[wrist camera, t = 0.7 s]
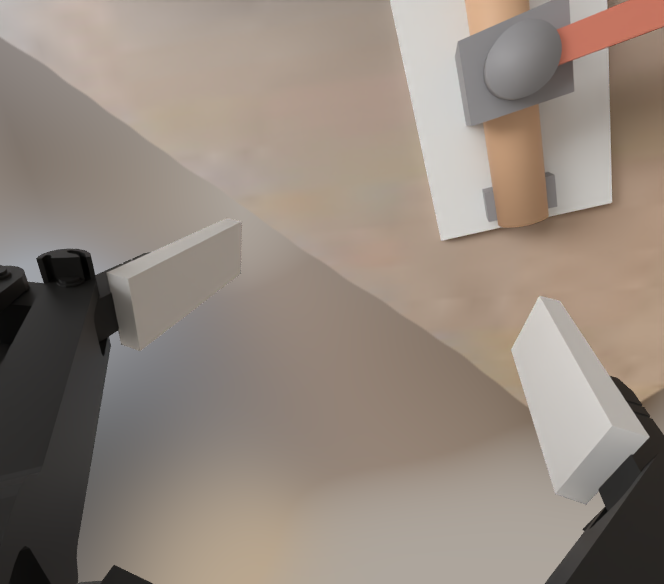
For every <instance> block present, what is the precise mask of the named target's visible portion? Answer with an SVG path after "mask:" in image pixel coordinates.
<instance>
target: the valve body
mask: <svg viewBox="0 0 664 584" xmlns="http://www.w3.org/2000/svg"><path fill="white" fill-rule="evenodd" d="M390 3H391V8H392V13H393V17H394V22H395V27H396V31H397V36H398V41H399V45H400V50H401V55H402V59H403V64H404V69H405V73H406V78H407V83H408V87H409V92H410V97H411V101H412V106H413V111H414V116H415V120H416V125H417V130H418V134H419V139H420V144H421V148H422V153H423V158H424V162H425V167H426V172H427V176H428V181H429V186H430V190H431V195H432V200H433V204H434V209H435V214H436V218H437V223H438V228H439V232H440V237H441V241H442V240H447V239H451V238H456V237H460V236H465V235H469V234H474V233H478V232H483V231H487V230H492V229H496V228H501V227H506V228H512V227H521V226H527V225H531V224H535V223H538V222H540V221H543V220H545V219H546V218H547V217H550V216H555V215H559V214H564V213H568V212H573V211H577V210H582V209H586V208H591V207H595V206H600V205H604V204H609V203H612V174H611V133H610V91H609V50H608V48H605V49H602V50H599V51H597V52H594V53H591V54H589V55H586V56H583V57H580V58H578V59H575V60H572V61H570V62H567V63H564V64H562V65H559V66H558V67H557V69H556V71H555V73H554V74H553V76H552V77H551V79H550V80H549V81H548V82H547V83H546V84H545V85H544V86H543V87H542V88H541V89H539V90H538V91H536V92H535V93H533V94H531V95H529V96H526V97H523V98H519V99H516V100H502V99H499V98H497V97H495V96H493V95H492V94H491V93H490V92H489V91H488V89H487V87H486V85H485V83H484V78H483V68H484V63H485V60H486V57H487V55H488V53H489V51H490V50H491V48H492V47H493V45H494V44H495V42H496V41H497V39H498V38H499V37H500V36H501V35H502V34H503V33H504V32H505V31H506V30H507V29H508V28H509V27H511V26H512V25H514V24H516V23H518V22H520V21H523V20H527V19H541V20H545V21H547V22H549V23H550V24H552V25H553V26H554V27H555V28H556V30H557V29H559V28H562V27H564V26H567V25H569V24H572V23H574V22H577V21H579V20H582V19H584V18H587V17H589V16H591V15H594V14H596V13H599V12H601V11H604V10H606V9H608V8H607V0H390Z"/></svg>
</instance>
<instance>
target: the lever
mask: <svg viewBox="0 0 664 584" xmlns="http://www.w3.org/2000/svg"><path fill="white" fill-rule="evenodd" d="M662 27H664V0H629V1H626V2H624V3H621V4H619V5H616V6H614V7H611V8H609V9H606V10H604V11H601V12H599V13H596V14H594V15H591V16H589V17H587V18H584V19H582V20H579V21H577V22H574V23H572V24H569V25H567V26H564V27H562V28H559V29H557V30H556V28H555V27H554V26H553V25H552V24H550V23H549V22H547V21H545V20H541V19H527V20H523V21H520V22H518V23H516V24H514V25H512V26H511V27H509V28H508V29H507V30H506V31H505V32H504V33H503V34H502V35H501V36H500V37H499V38H498V39H497V41H496V42H495V44H494V45H493V47H492V48H491V50H490V51H489V53H488V55H487V57H486V60H485V63H484V68H483V78H484V83H485V85H486V87H487V89H488V91H489V92H490V93H491V94H492V95H493V96H495V97H497V98H499V99H502V100H516V99H519V98H523V97H526V96H529V95H531V94H533V93H535V92H536V91H538V90H539V89H541V88H542V87H543V86H544V85H545V84H546V83H547V82H548V81H549V80H550V79H551V77H552V76H553V74H554V73H555V71H556V69H557V67H558V66H559V65H562V64H564V63H567V62H570V61H572V60H575V59H578V58H580V57H583V56H586V55H589V54H591V53H594V52H597V51H599V50H602V49H605V48H608V47H610V46H613V45H616V44H618V43H621V42H624V41H627V40H629V39H632V38H635V37H637V36H640V35H643V34H646V33H648V32H651V31H654V30H656V29H659V28H662Z"/></svg>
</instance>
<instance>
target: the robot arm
mask: <svg viewBox="0 0 664 584" xmlns="http://www.w3.org/2000/svg"><path fill="white" fill-rule="evenodd" d="M241 232H242V222H241V221H238V220H234V219H230V218H226V219H224V220H221V221H219V222H217V223H215V224H213V225H210V226H208V227H206V228H204V229H201V230H199V231H197V232H195V233H193V234H190V235H188V236H186V237H184V238H182V239H180V240H177V241H175V242H173V243H171V244H168V245H166V246H164V247H162V248H160V249H157V250H155V251H153V252H149V253H144V254H142V255H140V256H137V257H135V258H133V259H132V260H128V261H126V262H124V263H123V264H119V265H117V266H115V267H113V268H111V269H108V270H106V271H104V272H102V273H100V274H97V275H95V273H94V268H93V263H92V259H91V255H90V253H89V252H87V251H85V250H80V249H60V250H54V251H50V252H47V253H44V254H42V255H40V256H39V257H38V258H36V259H37V262H38V266H39V269H40V272H41V275H42V278H43V282H44V283H35V282H28V281H27V278H26V276H25V272H24V270H23V269H22V268H19V267H15V266H2V265H0V584H152V583H150V582H148V581H146V580H144V579H142V578H140V577H138V576H136V575H134V574H132V573H130V572H128V571H126V570H124V569H121V568H119V567H117V566H115V565H114V566H113V567H112V568H111V570H110V571H109V572H108V574H107V575H106V576H105V578H104V579H103V580H102V581H92V582H81V583H78V569H77V545H78V538H79V532H80V526H81V520H82V514H83V508H84V502H85V496H86V490H87V484H88V478H89V472H90V466H91V460H92V454H93V448H94V442H95V436H96V430H97V424H98V418H99V412H100V406H101V400H102V394H103V389H104V382H105V377H106V370H107V364H108V359H109V352H110V347H111V344H110V339H109V336H110V335H111V334H113V333H114V332H116V331H119V336H120V341H121V345H124V346H127V347H130V348H133V349H136V350H139V351H141V350H142V349H143V348H145V347H146V346H147V345H149V344H150V343H151V342H152V341H154V340H155V339H157V338H158V337H159V336H160V335H162V334H163V333H164V332H166V331H167V330H168V329H170V328H171V327H172V326H174V325H175V324H176V323H177V322H179V321H180V320H181V319H183V318H184V317H185V316H187V315H188V314H189V313H190V312H192V311H193V310H194V309H196V308H197V307H198V306H199V305H201V304H202V303H204V302H205V301H206V300H207V299H209V298H210V297H211V296H213V295H214V294H215V293H216V292H218V291H219V290H220V289H222V288H223V287H224V286H225V285H227V284H228V283H229V282H231V281H232V280H234V279H235V278H236V277H237V276H239V275H240V274H241V235H242V234H241ZM511 351H512V354H513V357H514V360H515V364H516V367H517V370H518V374H519V377H520V380H521V383H522V387H523V390H524V393H525V396H526V400H527V403H528V406H529V410H530V413H531V416H532V419H533V423H534V426H535V429H536V432H537V436H538V439H539V442H540V446H541V449H542V452H543V455H544V458H545V462H546V465H547V469H548V472H549V475H550V478H551V481H552V485H553V488H554V492H555V494H557V495H560V496H563V497H565V498H568V499H571V500H574V501H577V502H580V503H583V504H587V503H588V502H589V501H590V500H591V499H592V498H593V497H594V496H595V494H597V492H598V491H599V492H600V495H601V497H602V499H603V502H604V504H605V507H604V508H603V509H602V510H601V511H600V512H599V514H597V515H596V516H595V517H594V518H593V520H591V521H590V523H588V524H587V525H586V527H585V528H583V530H584V531H585V532H584V533H583V534H582V535H581V537H580V538H579V539H578V541H577V542H576V543H575V545H574V546H573V547H572V549H571V550H570V551H569V552H568V554H567V555H566V557H565V558H564V559H563V560H562V562H561V563H560V564H559V566H558V567H557V568H556V569H555V571H554V572H553V573H552V575H551V576H550V577H549V579H548V580H547V582H546V583H545V584H664V435H663V433H662V432H661V431H660V429H659V428H658V426H657V425H656V424H655V422H654V421H653V419H651V418H650V415H649V414H648V412H647V411H646V409H645V408H644V407H642V404H641V402H640V401H639V399H638V398H637V397H636V395H635V394H634V392H633V391H632V390H631V389H629V388H628V387H627V386H626V385H625V384H624V383H623V382H621V381H620V380H619V379H618V378H616V377H612V376H609V374H608V373H607V371H606V370H605V368H604V367H603V365H602V364H601V362H600V361H599V359H598V358H597V356H596V355H595V353H594V352H593V350H592V349H591V347H590V346H589V344H588V343H587V341H586V339H585V338H584V336H583V335H582V333H581V332H580V330H579V329H578V327H577V326H576V324H575V323H574V321H573V320H572V318H571V317H570V315H569V314H568V312H567V311H566V309H565V308H564V306H563V305H562V303H561V302H560V301H559V300H555V299H551V298H547V297H543V296H539V298H538V299H537V301H536V303H535V305H534V307H533V309H532V311H531V313H530V315H529V317H528V318H527V320H526V322H525V324H524V326H523V328H522V330H521V332H520V334H519V336H518V337H517V339H516V341H515V343H514V345H513V347H512V349H511Z"/></svg>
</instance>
